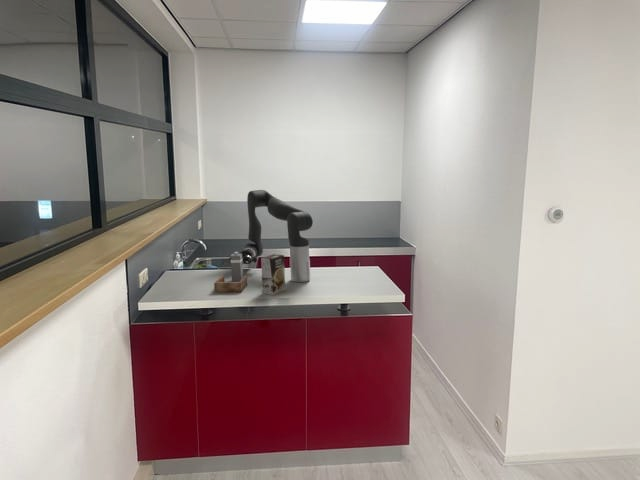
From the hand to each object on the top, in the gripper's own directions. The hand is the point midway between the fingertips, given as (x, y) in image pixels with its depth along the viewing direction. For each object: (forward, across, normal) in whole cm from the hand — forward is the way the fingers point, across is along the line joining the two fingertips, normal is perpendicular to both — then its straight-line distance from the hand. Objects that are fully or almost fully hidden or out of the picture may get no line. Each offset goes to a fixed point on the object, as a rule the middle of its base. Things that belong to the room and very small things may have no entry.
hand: (240, 262), depth 225 cm
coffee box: (+26, +21, +8) cm, 35 cm away
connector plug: (+8, 0, +8) cm, 11 cm away
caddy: (+22, 0, +8) cm, 23 cm away
